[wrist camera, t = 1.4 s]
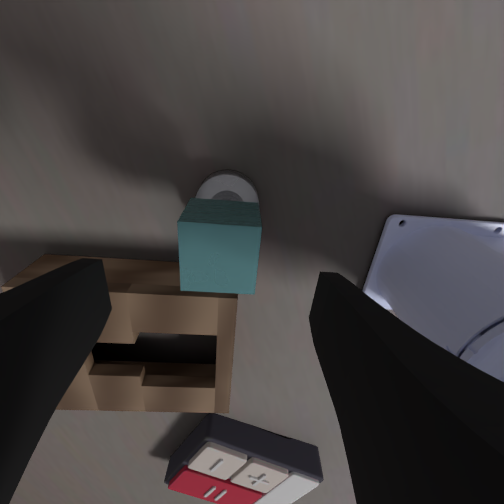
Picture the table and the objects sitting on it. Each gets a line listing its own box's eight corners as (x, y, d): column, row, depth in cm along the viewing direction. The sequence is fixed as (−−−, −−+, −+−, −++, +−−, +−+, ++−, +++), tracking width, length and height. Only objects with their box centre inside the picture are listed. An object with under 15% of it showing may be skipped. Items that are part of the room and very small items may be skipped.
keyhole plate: (238, 265, 20) (237, 298, 17) (230, 371, 26) (228, 413, 23) (44, 254, 20) (0, 286, 16) (79, 367, 25) (53, 409, 22)
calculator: (204, 445, 26) (327, 488, 29) (211, 402, 30) (319, 445, 33) (160, 491, 30) (271, 525, 34) (171, 449, 34) (270, 483, 38)
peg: (261, 172, 17) (273, 218, 10) (255, 229, 19) (262, 302, 12) (197, 167, 17) (166, 210, 10) (198, 226, 19) (171, 297, 12)
